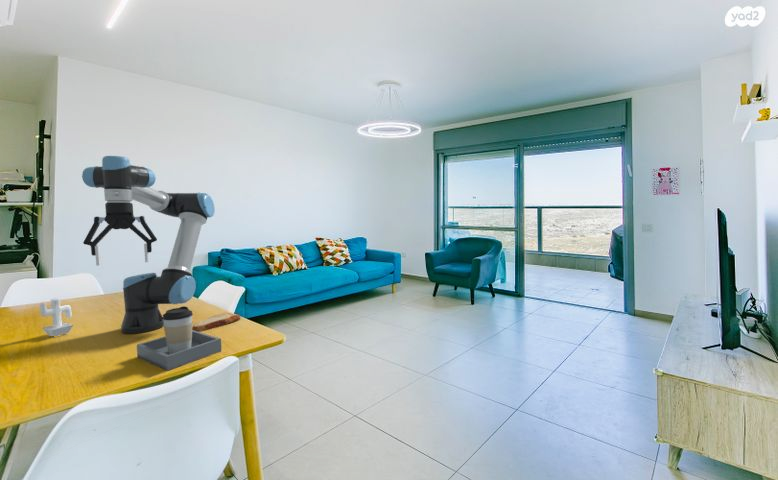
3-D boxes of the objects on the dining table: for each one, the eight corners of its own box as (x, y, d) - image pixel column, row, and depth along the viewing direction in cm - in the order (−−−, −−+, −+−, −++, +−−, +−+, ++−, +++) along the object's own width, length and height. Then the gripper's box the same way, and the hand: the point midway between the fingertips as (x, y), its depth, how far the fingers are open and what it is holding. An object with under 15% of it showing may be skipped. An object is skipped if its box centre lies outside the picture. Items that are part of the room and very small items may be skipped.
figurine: (77, 332, 146) (74, 297, 145) (48, 340, 138) (44, 302, 136) (68, 330, 149) (65, 295, 148) (38, 337, 141) (35, 300, 139)
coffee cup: (181, 357, 117) (178, 313, 116) (158, 355, 119) (155, 312, 118) (200, 347, 126) (198, 306, 125) (179, 345, 128) (176, 305, 126)
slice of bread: (189, 333, 145) (188, 324, 144) (200, 320, 162) (200, 312, 162) (236, 329, 149) (235, 320, 149) (242, 316, 166) (242, 309, 166)
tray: (137, 357, 120) (136, 344, 120) (190, 340, 135) (189, 329, 135) (167, 370, 110) (166, 356, 109) (221, 350, 125) (220, 338, 124)
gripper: (67, 201, 112) (73, 267, 113) (160, 201, 123) (164, 261, 125) (75, 202, 118) (80, 264, 120) (162, 202, 130) (166, 259, 132)
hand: (123, 263), depth 123 cm, fingers open, 13 cm apart
